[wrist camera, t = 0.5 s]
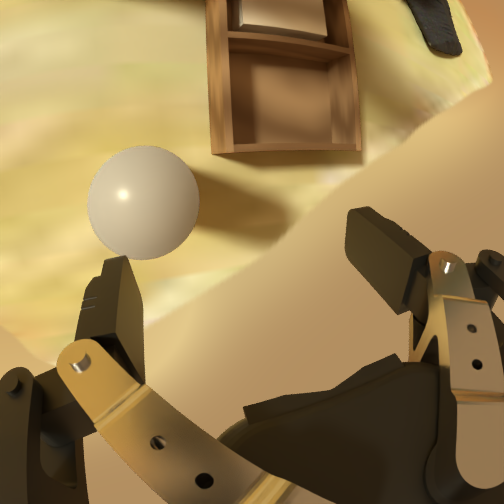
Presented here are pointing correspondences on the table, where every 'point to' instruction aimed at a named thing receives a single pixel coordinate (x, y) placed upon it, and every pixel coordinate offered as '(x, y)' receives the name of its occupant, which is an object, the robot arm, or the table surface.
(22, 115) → the table surface
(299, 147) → the caddy
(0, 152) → the table surface
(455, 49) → the dark slate chunk
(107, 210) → the sugar shaker
